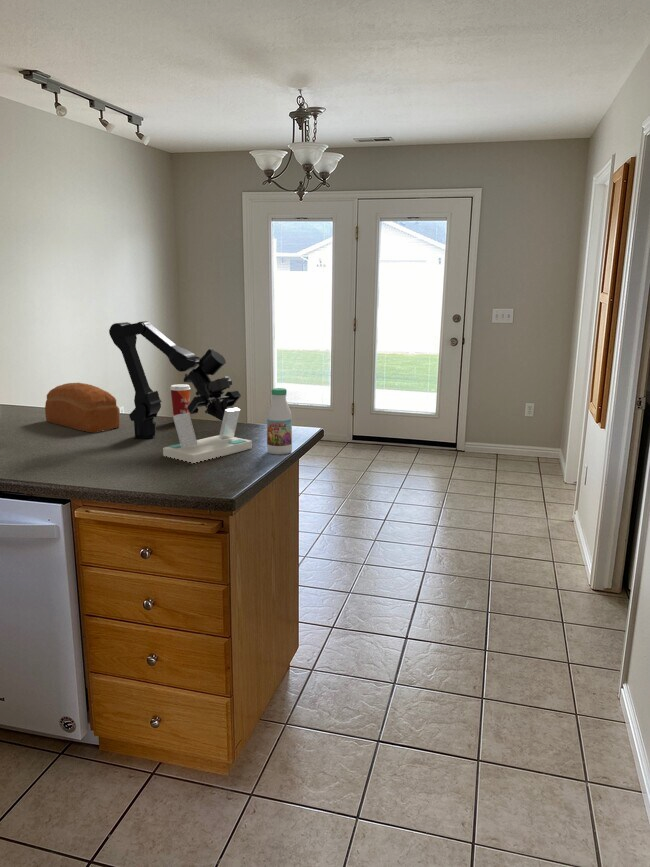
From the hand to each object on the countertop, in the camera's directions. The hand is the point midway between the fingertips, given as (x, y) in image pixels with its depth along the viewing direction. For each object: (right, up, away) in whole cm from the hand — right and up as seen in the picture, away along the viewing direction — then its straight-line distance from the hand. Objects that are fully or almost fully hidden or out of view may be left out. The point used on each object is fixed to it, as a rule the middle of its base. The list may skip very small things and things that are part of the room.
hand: (228, 422), depth 207 cm
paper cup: (-24, +1, +41) cm, 47 cm away
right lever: (-1, -5, +2) cm, 5 cm away
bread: (-59, -1, +36) cm, 69 cm away
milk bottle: (+17, -10, -3) cm, 19 cm away
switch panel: (-6, -9, -3) cm, 11 cm away
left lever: (-10, -7, -10) cm, 16 cm away
